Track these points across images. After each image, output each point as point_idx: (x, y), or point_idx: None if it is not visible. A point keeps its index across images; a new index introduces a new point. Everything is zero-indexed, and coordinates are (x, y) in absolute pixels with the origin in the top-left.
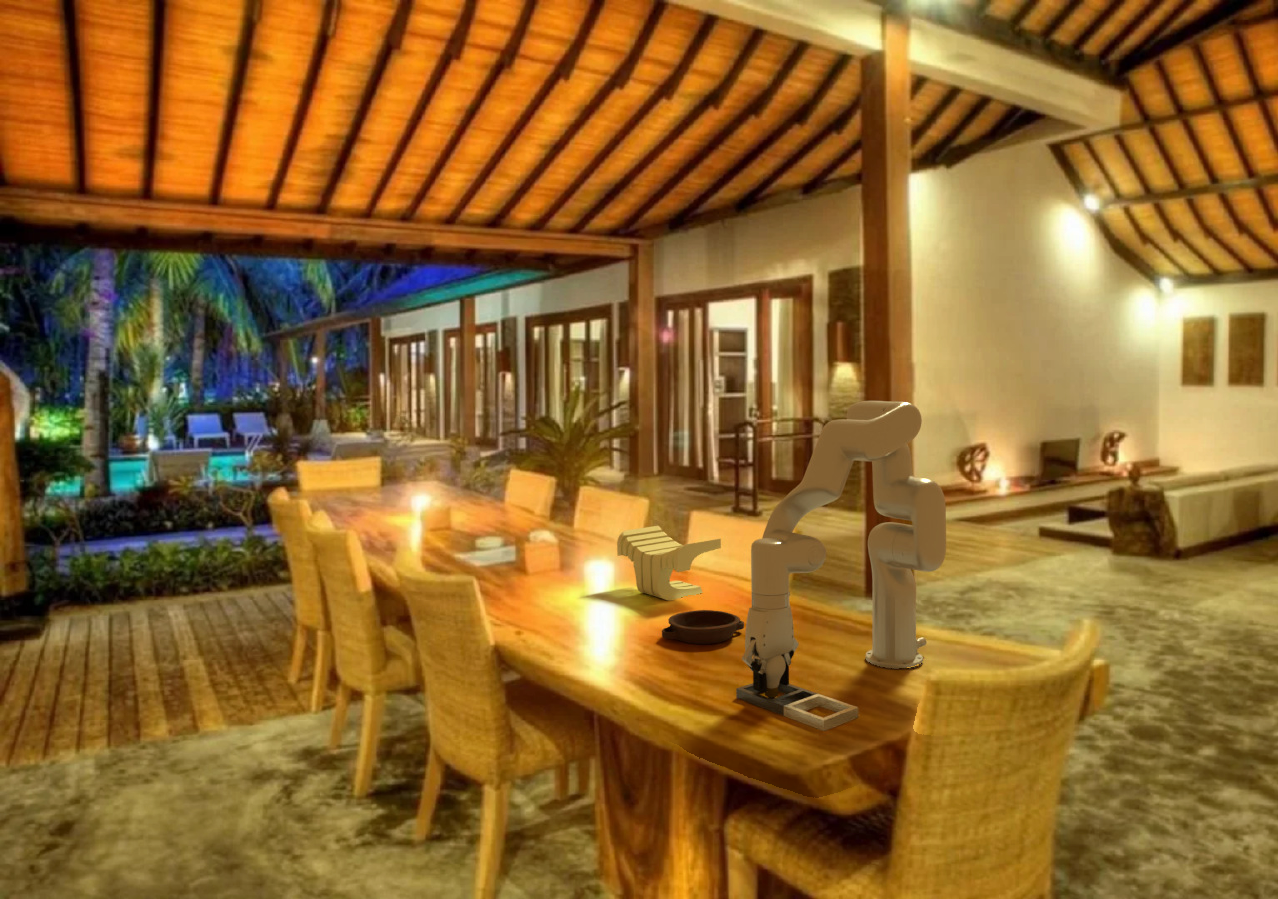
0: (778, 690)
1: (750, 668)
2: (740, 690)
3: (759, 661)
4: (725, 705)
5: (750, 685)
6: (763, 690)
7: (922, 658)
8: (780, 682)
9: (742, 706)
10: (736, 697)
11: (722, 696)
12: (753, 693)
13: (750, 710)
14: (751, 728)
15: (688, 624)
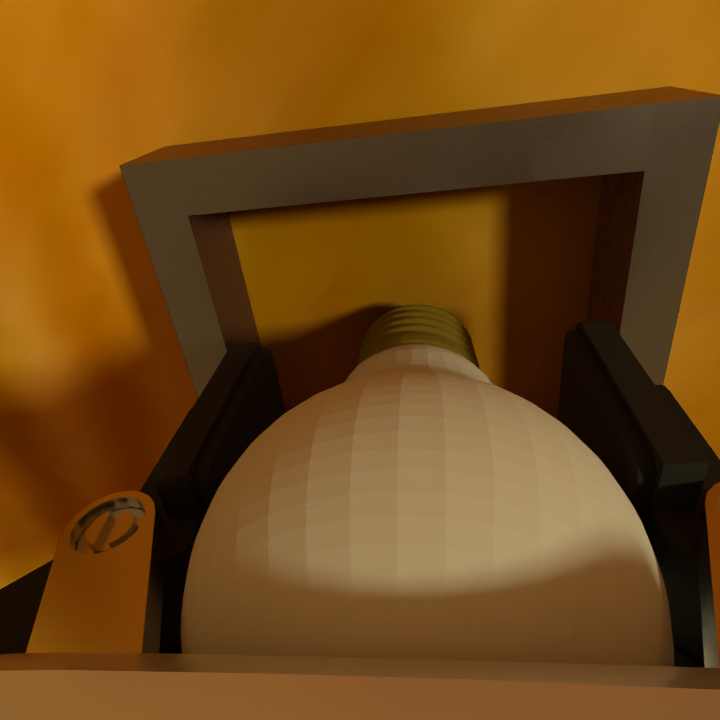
0: (597, 262)
1: (37, 568)
2: (142, 230)
3: (183, 647)
4: (10, 229)
5: (309, 186)
6: None
7: None
8: (562, 392)
9: (131, 322)
10: (162, 148)
11: (54, 6)
12: (212, 368)
13: (151, 403)
14: (47, 555)
15: None
